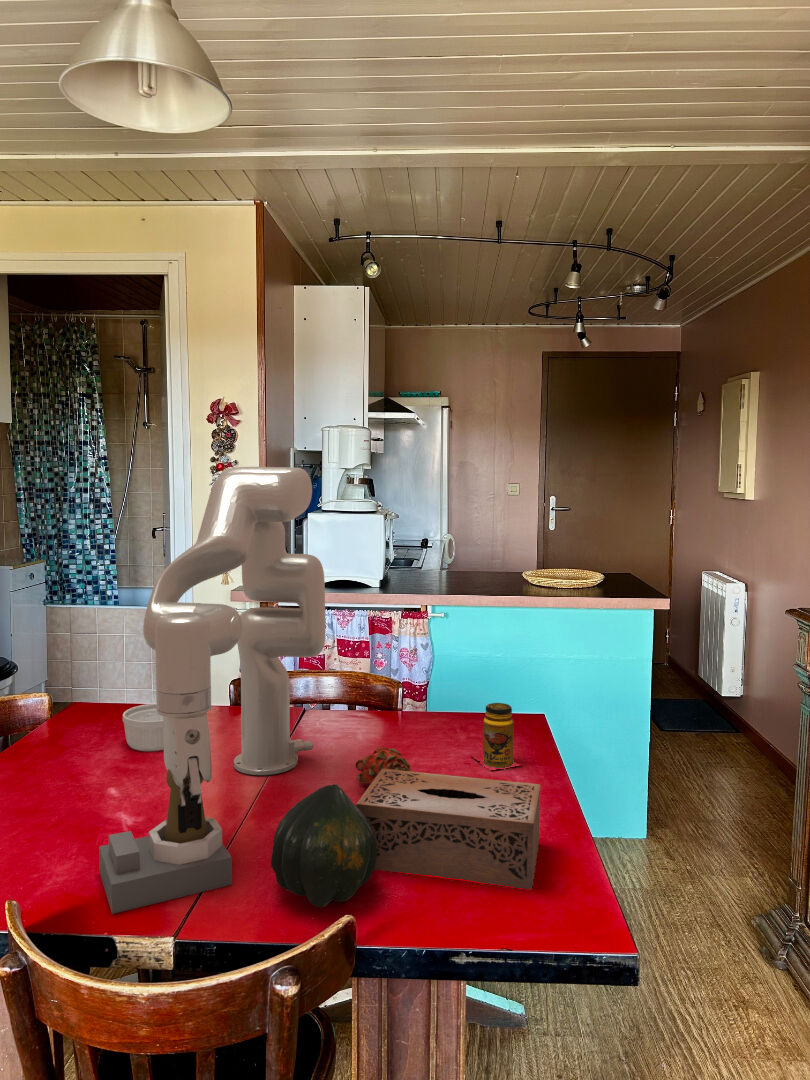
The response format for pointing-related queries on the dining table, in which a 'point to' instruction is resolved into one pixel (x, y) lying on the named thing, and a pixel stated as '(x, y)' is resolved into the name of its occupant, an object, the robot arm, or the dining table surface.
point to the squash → (324, 848)
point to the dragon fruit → (380, 764)
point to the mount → (162, 867)
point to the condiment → (498, 736)
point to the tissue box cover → (454, 826)
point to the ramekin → (144, 728)
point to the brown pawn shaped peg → (172, 817)
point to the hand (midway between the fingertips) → (186, 822)
